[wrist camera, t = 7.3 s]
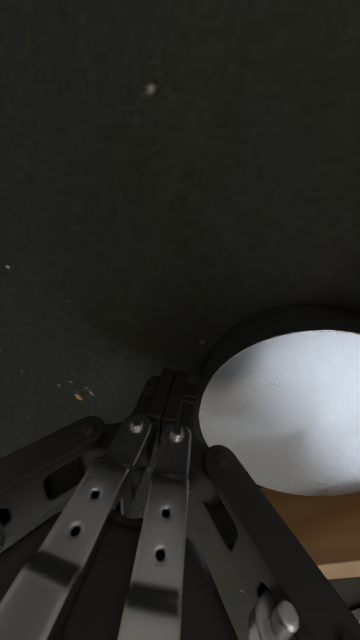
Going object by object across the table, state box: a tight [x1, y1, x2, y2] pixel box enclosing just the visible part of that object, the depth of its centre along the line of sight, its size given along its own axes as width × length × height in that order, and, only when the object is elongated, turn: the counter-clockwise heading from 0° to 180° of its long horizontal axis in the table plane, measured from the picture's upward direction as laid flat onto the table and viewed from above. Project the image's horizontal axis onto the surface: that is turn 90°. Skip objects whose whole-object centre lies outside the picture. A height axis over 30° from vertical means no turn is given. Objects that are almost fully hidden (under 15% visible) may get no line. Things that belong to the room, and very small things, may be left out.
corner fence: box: [260, 487, 360, 579], centre depth 13 cm, size 15×18×5 cm
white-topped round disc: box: [199, 304, 360, 496], centre depth 13 cm, size 11×11×3 cm
